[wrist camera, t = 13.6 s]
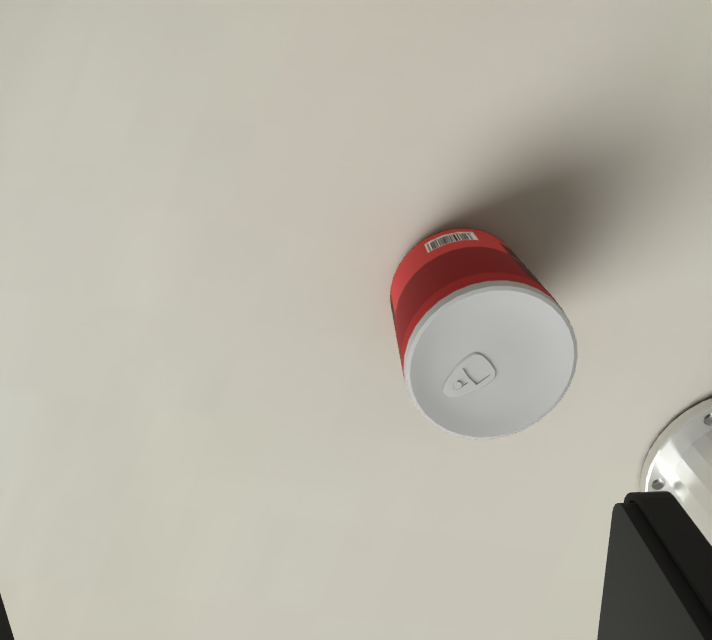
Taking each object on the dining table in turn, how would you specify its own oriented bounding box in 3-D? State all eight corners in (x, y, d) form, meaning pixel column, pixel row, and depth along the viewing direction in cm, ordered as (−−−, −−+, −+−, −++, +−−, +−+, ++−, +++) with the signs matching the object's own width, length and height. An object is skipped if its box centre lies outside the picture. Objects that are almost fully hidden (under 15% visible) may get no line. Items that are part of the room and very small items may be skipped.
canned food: (363, 304, 41) (370, 389, 31) (444, 197, 38) (481, 249, 28) (462, 369, 43) (500, 469, 32) (545, 270, 40) (615, 344, 30)
